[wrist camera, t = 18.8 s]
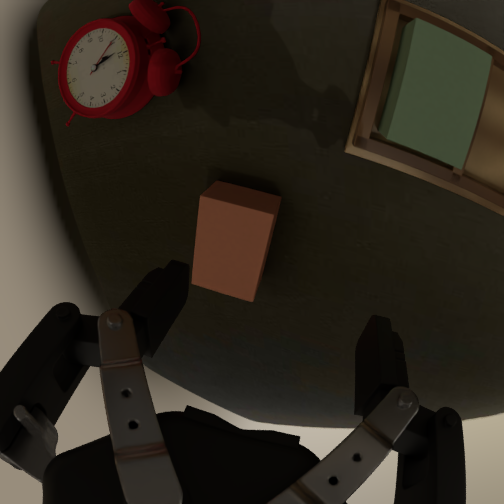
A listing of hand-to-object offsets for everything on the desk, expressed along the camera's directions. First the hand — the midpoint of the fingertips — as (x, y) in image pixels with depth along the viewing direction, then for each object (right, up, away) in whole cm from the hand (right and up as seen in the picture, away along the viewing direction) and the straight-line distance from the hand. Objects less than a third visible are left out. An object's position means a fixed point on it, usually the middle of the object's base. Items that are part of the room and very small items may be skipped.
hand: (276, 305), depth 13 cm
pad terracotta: (-2, +4, +17) cm, 17 cm away
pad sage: (+12, +14, +5) cm, 20 cm away
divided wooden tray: (+16, +14, +6) cm, 22 cm away
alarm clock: (-12, +20, +10) cm, 25 cm away
